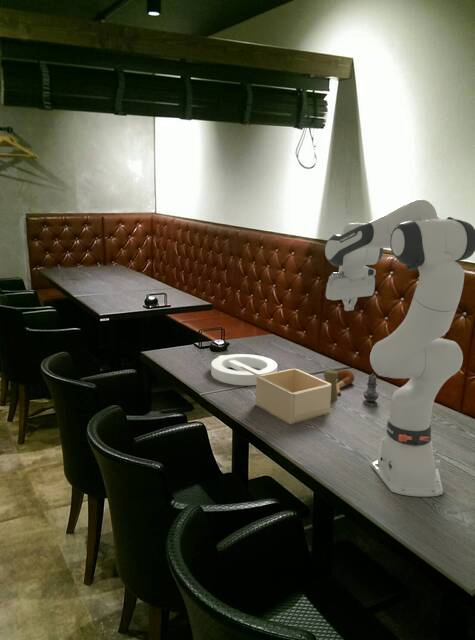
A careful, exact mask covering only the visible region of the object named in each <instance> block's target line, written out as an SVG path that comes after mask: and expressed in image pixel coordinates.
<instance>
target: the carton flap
mask: <svg viewBox="0 0 475 640" xmlns="http://www.w3.org/2000/svg"><path fill="white" fill-rule="evenodd" d="M240 368H242V369H244V370H246V371H248V372H250V373H252V374H254V375H256V376H258V377H260V378H262V379H264V380H266V381H268V382H270V383H272V384H274V385H276V386H278V387H280V388H282V389H284V390H286V391H288V392H290V390H288V389H286V388H284V387H282V386H280V385H278V384H276V383H274V382H272V381H270V380H268V379H266V378H264V377H262V376H260V375H258V374H256V373H254V372H252V371H250V370H248V369H246V368H244V367H242V366H241V367H240Z"/></svg>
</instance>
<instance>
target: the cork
mask: <svg viewBox="0 0 475 640" xmlns="http://www.w3.org/2000/svg"><path fill="white" fill-rule="evenodd" d="M337 372H338V371H336V370H334V369H333V370H332V369H327V370H325V371H324V373H323V377H324V381H326V382H328V383H331V384H332V387H331V401H330V402H336V401H337V400H338V395H337V386H336V384H337V378H338V373H337Z"/></svg>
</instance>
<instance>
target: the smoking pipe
mask: <svg viewBox="0 0 475 640" xmlns="http://www.w3.org/2000/svg"><path fill="white" fill-rule="evenodd" d="M336 372H337V373H338V378H337V379H336V381H337V382H336V386H337V396H342V392H341V389H342V388H344V387H346V386H348V385H349V384H352V383H353V382H354V381H355V374H354V373H353V371H351V370H349V369H339V370H337V371H336Z"/></svg>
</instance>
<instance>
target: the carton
mask: <svg viewBox="0 0 475 640" xmlns="http://www.w3.org/2000/svg"><path fill="white" fill-rule="evenodd" d="M260 376H262V377H264V378H266V379H268V380H270V381H272V382H274V383H276V384H278V385H280V386H282V387H284V388H286V389H288V390H290V392H288V391H286V390H284V389H282V388H280V387H278V386H276V385H274V384H272V383H270V382H268V381H266V380H264V379H262V378H260V377H258V376H257V382H256V385H255V387H256V388H255V390H256V391H255V406H257V407H259V408H261V409H262V410H264V411H266V412H268V413H269V414H271V415H273V416H274V417H277V419H279V420H281V421H283V422H285V423H287V424H289V425H293V424H297V423H301V422H305V421H307V420H312V419H314V418H319V417H323V416H325V415H329V414H330V409H331V402H332V401H331V387H332V384H331V383H328V382H326V381H325V379H324V380H323V379H321V378H319V377H316V376H314V375H313V374H310V373H307V372H305V371H303V370H301V369H298V368H290V369H288V368H287V369H283V370H280V371H277V372H274V373H269V374H264V375H260Z"/></svg>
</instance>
